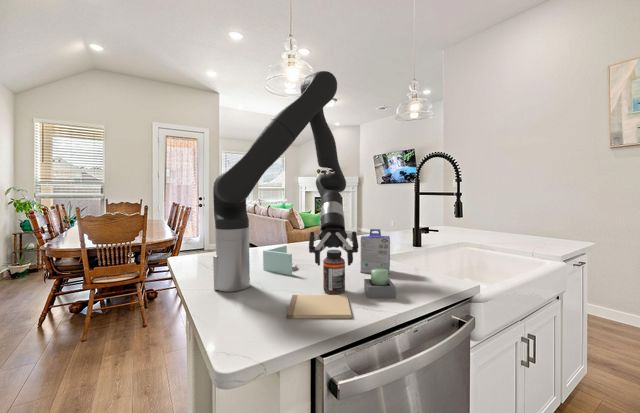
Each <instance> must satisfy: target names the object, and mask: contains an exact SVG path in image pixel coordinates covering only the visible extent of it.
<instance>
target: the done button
mask: <svg viewBox="0 0 640 413" xmlns="http://www.w3.org/2000/svg"><path fill="white" fill-rule="evenodd" d="M388 275H389V274H388V270H387V269H385V268H372V269H371V273H370V279H371V283H372V284H374V285H387V284H388V279H389V276H388Z"/></svg>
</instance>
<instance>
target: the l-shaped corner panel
mask: <svg viewBox="0 0 640 413" xmlns="http://www.w3.org/2000/svg"><path fill="white" fill-rule="evenodd" d="M287 247H288V245H285V244H284V245H280V246H276V247H273V248H268V249H264V250H262V267H263V269H262V270H263V271H265V272H271V273H276V274H283V275H287V276H292V275H293V272H294V271H297V269H298V268H297V267H298V266H297V263H295V262H294V263H293V253H288V250H287V249H288V248H287Z"/></svg>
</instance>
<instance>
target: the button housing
mask: <svg viewBox="0 0 640 413" xmlns="http://www.w3.org/2000/svg"><path fill="white" fill-rule="evenodd" d="M363 283H364V284H363V289H364V290H363V291H364V293H365V295H366V297H367V298H368V299H370V300H372V299H373V300H374V299H376V300H381V299H384V300H387V299H389V300H390V299H393V300H395V299H396V298H397V296H396V295H397V294H396V293H397V292H396V291H397V287H396V286H395V284H394V283H393V281H392V280H391V279H390V278H388V284H387V285H374V284H372V283H371V278H364V280H363Z"/></svg>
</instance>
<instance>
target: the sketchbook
mask: <svg viewBox="0 0 640 413" xmlns="http://www.w3.org/2000/svg"><path fill="white" fill-rule="evenodd" d="M289 301H290V302H289V305H288V310H287V313H286V319H352V311H351V307H350V304H349V300H348V294H336V295H333V294H292V295H291V299H290V300H289Z"/></svg>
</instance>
